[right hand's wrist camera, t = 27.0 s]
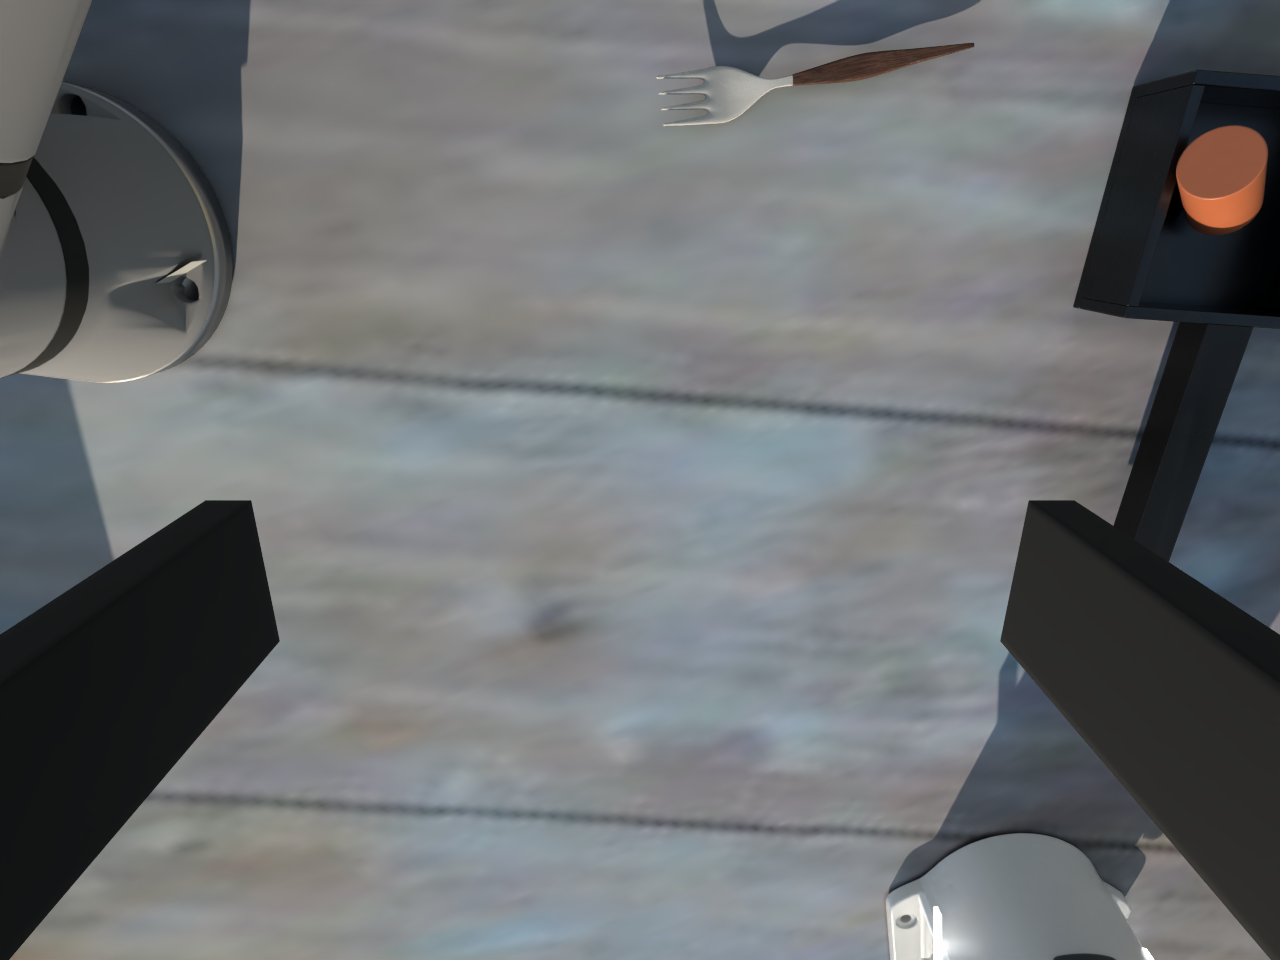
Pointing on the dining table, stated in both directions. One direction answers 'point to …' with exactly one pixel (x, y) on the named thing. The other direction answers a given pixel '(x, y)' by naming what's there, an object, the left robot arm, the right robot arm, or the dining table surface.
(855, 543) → the dining table surface
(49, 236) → the right robot arm
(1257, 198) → the peg
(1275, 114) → the pan
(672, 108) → the fork
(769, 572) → the dining table surface
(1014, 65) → the dining table surface
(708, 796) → the dining table surface
